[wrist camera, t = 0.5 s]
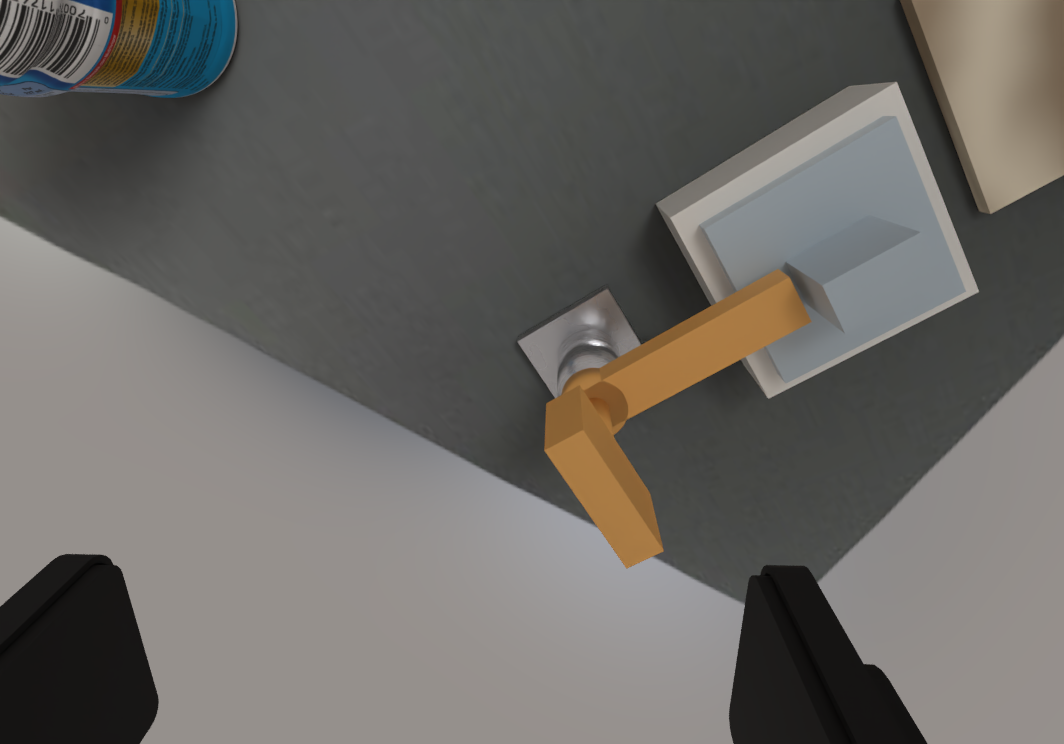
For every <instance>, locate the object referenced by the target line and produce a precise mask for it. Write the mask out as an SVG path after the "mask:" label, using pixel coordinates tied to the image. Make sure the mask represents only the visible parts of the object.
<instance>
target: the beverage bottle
mask: <svg viewBox="0 0 1064 744" xmlns="http://www.w3.org/2000/svg"><path fill="white" fill-rule="evenodd" d="M237 29H238V20H237V10H236V4H235V0H0V94H4V95H11V96H20V97H47V96H53V95H58V94H62V93H65V92H68V91H71V92H105V93H131V94H142V95H146V96H152V97H161V98H178V97H185V96H189V95H193V94H195V93H198V92H200V91H202V90H204V89H205V88H207V87H209V86H210V85H211V84H213V83H214V82H215V81H216V80H217V79H218V78H219V77H220V76H221V74H222V73H223V72H224V70H225V69H226V67H227V66H228V64H229V62H230V60H231V57H232V55H233V52H234V48H235V44H236V39H237Z"/></svg>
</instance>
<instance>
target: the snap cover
mask: <svg viewBox="0 0 1064 744" xmlns="http://www.w3.org/2000/svg"><path fill="white" fill-rule="evenodd" d="M699 226H700V228H701V230H702V232H703V233H704V235H705V237H706V239H707V241H708V243H709V245H710V247H711V249H712V250H713V252H714V254H715V256H716V258H717V260H718V262H719V264H720V266H721V267H722V269H723V271H724V273H725V275H726V277H727V279H728V281H729V283H730V284H731V286H732V288H733V290H734V292H737V291H739V290H741V289H743V288H744V287H746V286H748V285H750V284H752V283H753V282H755V281H757V280H759V279H761V278H762V277H764V276H766V275H768V274H770V273H771V272H773V271H775V270H777V269H779V270H780V271H782V272H783V273H785V274H786V275H787V276H789V277H790V279H791V281H792V283H793V285H794V287H795V289H796V291H797V293H798V295H799V297H800V299H801V301H802V303H803V305H804V307H805V309H806V311H807V313H808V315H809V317H810V319H811V323H809V324H807V325H805V326H803V327H801V328H799V329H797V330H795V331H793V332H792V333H790V334H788V335H786V336H784V337H782V338H780V339H778V340H776V341H775V342H773V343H771V344H769V345H767V346H765V347H764V349H765V351H766V353H767V354H768V356H769V358H770V360H771V362H772V364H773V366H774V368H775V370H776V371H777V373H778V375H779V376H780V377H781V379H782V380H783V381H784V382H785V383H788V382H790V381H792V380H794V379H796V378H798V377H800V376H802V375H804V374H806V373H808V372H810V371H812V370H814V369H816V368H817V367H819V366H821V365H823V364H825V363H827V362H829V361H831V360H833V359H835V358H837V357H839V356H841V355H843V354H845V353H847V352H849V351H851V350H853V349H855V348H857V347H859V346H861V345H863V344H864V343H866V342H868V341H870V340H872V339H874V338H876V337H878V336H880V335H882V334H884V333H886V332H888V331H890V330H892V329H894V328H896V327H898V326H900V325H902V324H904V323H906V322H908V321H910V320H911V319H913V318H915V317H917V316H919V315H921V314H923V313H925V312H927V311H929V310H931V309H933V308H935V307H937V306H939V305H941V304H943V303H945V302H947V301H949V300H951V299H953V298H955V297H957V296H959V295H960V294H962V293H964V292H966V290H965V287H964V285H963V282H962V280H961V277H960V275H959V272H958V270H957V267H956V265H955V262H954V260H953V257H952V255H951V252H950V250H949V247H948V245H947V242H946V240H945V237H944V235H943V232H942V230H941V227H940V225H939V222H938V220H937V217H936V215H935V212H934V210H933V207H932V205H931V202H930V200H929V197H928V195H927V192H926V190H925V187H924V185H923V182H922V180H921V177H920V175H919V172H918V170H917V167H916V165H915V162H914V160H913V157H912V155H911V152H910V150H909V147H908V145H907V142H906V140H905V137H904V135H903V132H902V130H901V127H900V125H899V122H898V120H897V117H896V116H882V117H880V118H879V119H877V120H875V121H874V122H872V123H870V124H868V125H867V126H865V127H863V128H862V129H860V130H858V131H857V132H855V133H853V134H852V135H850V136H848V137H846V138H845V139H843V140H841V141H840V142H838V143H836V144H835V145H833V146H831V147H830V148H828V149H826V150H824V151H823V152H821V153H819V154H818V155H816V156H814V157H813V158H811V159H809V160H808V161H806V162H804V163H802V164H801V165H799V166H797V167H796V168H794V169H792V170H791V171H789V172H787V173H786V174H784V175H782V176H780V177H779V178H777V179H775V180H774V181H772V182H770V183H769V184H767V185H765V186H764V187H762V188H760V189H758V190H757V191H755V192H753V193H752V194H750V195H748V196H747V197H745V198H743V199H742V200H740V201H738V202H736V203H735V204H733V205H731V206H730V207H728V208H726V209H725V210H723V211H721V212H720V213H718V214H716V215H714V216H713V217H711V218H709V219H708V220H706V221H704V222H703V223H701V224H699Z"/></svg>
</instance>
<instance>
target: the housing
mask: <svg viewBox="0 0 1064 744" xmlns="http://www.w3.org/2000/svg"><path fill="white" fill-rule="evenodd" d="M882 116H896V117H897V120H898V122H899V125H900V127H901V130H902V132H903V135H904V137H905V140H906V142H907V145H908V147H909V150H910V152H911V155H912V157H913V160H914V162H915V165H916V167H917V170H918V172H919V175H920V177H921V180H922V182H923V185H924V187H925V190H926V192H927V195H928V197H929V200H930V202H931V205H932V207H933V210H934V212H935V215H936V217H937V220H938V222H939V225H940V227H941V230H942V232H943V235H944V237H945V240H946V242H947V245H948V247H949V250H950V252H951V255H952V257H953V260H954V262H955V265H956V267H957V270H958V272H959V275H960V277H961V280H962V282H963V285H964V287H965V290H966V292H964V293H962V294H960V295H959V296H957V297H955V298H953V299H951V300H949V301H947V302H945V303H943V304H941V305H939V306H937V307H935V308H933V309H931V310H929V311H927V312H925V313H923V314H921V315H919V316H917V317H915V318H913V319H911V320H910V321H908V322H906V323H904V324H902V325H900V326H898V327H896V328H894V329H892V330H890V331H888V332H886V333H884V334H882V335H880V336H878V337H876V338H874V339H872V340H870V341H868V342H866V343H864V344H863V345H861V346H859V347H857V348H855V349H853V350H851V351H849V352H847V353H845V354H843V355H841V356H839V357H837V358H835V359H833V360H831V361H829V362H827V363H825V364H823V365H821V366H819V367H817V368H816V369H814V370H812V371H810V372H808V373H806V374H804V375H802V376H800V377H798V378H796V379H794V380H792V381H790V382H788V383H785V382H784V381H783V380H782V379H781V377H780V376H779V375H778V373H777V371H776V370H775V368H774V366H773V364H772V362H771V360H770V358H769V356H768V354H767V353H766V351H765V349H764V347H763V348H761V349H759V350H758V351H756V352H754V353H752V354H750V355H748V356H746V357H744V358H742V359H741V361H742V363H743V365H744V366H745V368H746V369H747V370H748V372H749V373H750V374H751V376H752V377H753V379H754V380H755V381H756V383H757V384H758V385H759V387H760V388H761V389H762V391H763V392H764V394H765V395H766V396H767V398H768V399H769V398H771V397H773V396H775V395H777V394H779V393H781V392H783V391H785V390H787V389H789V388H791V387H793V386H795V385H797V384H799V383H800V382H802V381H804V380H806V379H808V378H810V377H812V376H814V375H816V374H818V373H820V372H822V371H824V370H826V369H828V368H830V367H832V366H834V365H836V364H838V363H840V362H842V361H844V360H846V359H848V358H850V357H852V356H854V355H856V354H858V353H860V352H861V351H863V350H865V349H867V348H869V347H871V346H873V345H875V344H877V343H879V342H881V341H883V340H885V339H887V338H889V337H891V336H893V335H895V334H897V333H899V332H901V331H903V330H905V329H907V328H909V327H911V326H913V325H915V324H917V323H919V322H921V321H922V320H924V319H926V318H928V317H930V316H932V315H934V314H936V313H938V312H940V311H942V310H944V309H946V308H948V307H950V306H952V305H954V304H956V303H958V302H960V301H962V300H964V299H966V298H968V297H970V296H972V295H974V294H976V293H978V292H979V290H978V288H977V285H976V283H975V280H974V278H973V275H972V272H971V270H970V267H969V265H968V262H967V260H966V257H965V255H964V252H963V249H962V247H961V244H960V242H959V239H958V237H957V234H956V232H955V229H954V227H953V224H952V221H951V219H950V216H949V214H948V211H947V209H946V206H945V204H944V201H943V198H942V196H941V193H940V191H939V188H938V186H937V183H936V181H935V178H934V175H933V173H932V170H931V168H930V165H929V163H928V160H927V158H926V155H925V153H924V150H923V147H922V145H921V142H920V140H919V137H918V135H917V132H916V130H915V127H914V124H913V122H912V119H911V117H910V114H909V112H908V109H907V107H906V104H905V101H904V99H903V96H902V94H901V91H900V89H899V86H898V84H897V82H889V83H877V84H866V85H855V86H848V87H846V88H845V89H843V90H841V91H840V92H838V93H836V94H835V95H833V96H832V97H830V98H828V99H827V100H825V101H823V102H822V103H820V104H818V105H817V106H815V107H813V108H812V109H810V110H809V111H807V112H805V113H804V114H802V115H800V116H799V117H797V118H795V119H794V120H792V121H790V122H789V123H787V124H786V125H784V126H782V127H781V128H779V129H777V130H776V131H774V132H772V133H771V134H769V135H768V136H766V137H764V138H763V139H761V140H759V141H758V142H756V143H754V144H753V145H751V146H749V147H748V148H746V149H745V150H743V151H741V152H740V153H738V154H736V155H735V156H733V157H731V158H730V159H728V160H727V161H725V162H723V163H722V164H720V165H718V166H717V167H715V168H713V169H712V170H710V171H708V172H707V173H705V174H704V175H702V176H700V177H699V178H697V179H695V180H694V181H692V182H690V183H689V184H687V185H685V186H684V187H682V188H681V189H679V190H677V191H676V192H674V193H672V194H671V195H669V196H667V197H666V198H664V199H663V200H661V201H659V202H658V203H656V206H657V208H658V210H659V211H660V213H661V215H662V217H663V219H664V221H665V222H666V224H667V226H668V228H669V230H670V232H671V233H672V235H673V237H674V239H675V241H676V242H677V244H678V246H679V248H680V250H681V252H682V253H683V255H684V257H685V259H686V261H687V263H688V264H689V266H690V268H691V270H692V272H693V274H694V275H695V277H696V279H697V281H698V283H699V285H700V286H701V288H702V290H703V292H704V294H705V296H706V297H707V299H708V301H709V303H710V305H711V306H712V305H714V304H716V303H717V302H719V301H721V300H723V299H725V298H726V297H728V296H730V295H732V294H734V293H735V292H734V290H733V288H732V286H731V284H730V283H729V281H728V279H727V277H726V275H725V273H724V271H723V269H722V267H721V266H720V264H719V262H718V260H717V258H716V256H715V254H714V252H713V250H712V249H711V247H710V245H709V243H708V241H707V239H706V237H705V235H704V233H703V232H702V230H701V228H700V226H699V224H701V223H703V222H704V221H706V220H708V219H709V218H711V217H713V216H714V215H716V214H718V213H720V212H721V211H723V210H725V209H726V208H728V207H730V206H731V205H733V204H735V203H736V202H738V201H740V200H742V199H743V198H745V197H747V196H748V195H750V194H752V193H753V192H755V191H757V190H758V189H760V188H762V187H764V186H765V185H767V184H769V183H770V182H772V181H774V180H775V179H777V178H779V177H780V176H782V175H784V174H786V173H787V172H789V171H791V170H792V169H794V168H796V167H797V166H799V165H801V164H802V163H804V162H806V161H808V160H809V159H811V158H813V157H814V156H816V155H818V154H819V153H821V152H823V151H824V150H826V149H828V148H830V147H831V146H833V145H835V144H836V143H838V142H840V141H841V140H843V139H845V138H846V137H848V136H850V135H852V134H853V133H855V132H857V131H858V130H860V129H862V128H863V127H865V126H867V125H868V124H870V123H872V122H874V121H875V120H877V119H879V118H880V117H882Z"/></svg>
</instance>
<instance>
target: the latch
mask: <svg viewBox="0 0 1064 744" xmlns="http://www.w3.org/2000/svg"><path fill="white" fill-rule="evenodd" d="M809 323H811V319H810V317H809V315H808V313H807V311H806V309H805V307H804V305H803V303H802V301H801V299H800V297H799V295H798V293H797V291H796V289H795V287H794V285H793V283H792V281H791V279H790V277H789V276H787V275H786V274H785V273H783V272H782V271H780V270H779V269H777V270H775V271H773V272H771V273H770V274H768V275H766V276H764V277H762V278H761V279H759V280H757V281H755V282H753V283H752V284H750V285H748V286H746V287H744V288H743V289H741V290H739V291H737V292H735V293H734V294H732V295H730V296H728V297H726V298H725V299H723V300H721V301H719V302H717V303H716V304H714V305H712V306H710V307H708V308H707V309H705V310H703V311H701V312H699V313H698V314H696V315H694V316H692V317H690V318H689V319H687V320H685V321H683V322H681V323H680V324H678V325H676V326H674V327H672V328H671V329H669V330H667V331H665V332H663V333H662V334H660V335H658V336H656V337H654V338H653V339H651V340H649V341H647V342H645V343H644V344H642V345H640V346H638V347H636V348H635V349H633V350H631V351H629V352H627V353H626V354H624V355H622V356H620V357H618V358H617V359H615V360H613V361H611V362H609V363H608V364H606V365H604V366H602V367H600V368H586V369H583V370H580V371H578V372H576V373H574V374H573V375H572V376H571V377H570V378H569V379H568V380H567V381H566V383H565V385H564V386H563V389H562V394H561V396H559V397H557V398H555V399H553V400H552V401H550V402H548V403H546V424H545V448H544V451H545V452H546V454H547V455H548V456H549V458H550V459H551V461H552V462H553V464H554V465H555V466H556V468H557V469H558V471H559V472H560V474H561V475H562V477H563V478H564V479H565V481H566V482H567V484H568V485H569V487H570V488H571V489H572V491H573V492H574V494H575V495H576V497H577V498H578V499H579V501H580V502H581V504H582V505H583V507H584V508H585V509H586V511H587V512H588V514H589V515H590V517H591V518H592V520H593V521H594V522H595V524H596V525H597V527H598V528H599V530H600V531H601V532H602V534H603V535H604V537H605V538H606V540H607V541H608V542H609V544H610V545H611V547H612V548H613V550H614V551H615V552H616V554H617V555H618V557H619V558H620V560H621V561H622V563H623V564H624V565H625V567H626V568H629V567H631V566H633V565H635V564H637V563H640V562H641V561H644V560H646V559H648V558H650V557H652V556H654V555H657V554H659V553H661V552H663V551H664V550H663V546H662V541H661V537H660V533H659V529H658V525H657V521H656V516H655V512H654V508H653V504H652V500H651V496H650V492H649V491H648V489H647V488H646V486H645V485H644V483H643V482H642V480H641V479H640V477H639V476H638V474H637V472H636V471H635V469H634V468H633V466H632V465H631V463H630V462H629V460H628V459H627V457H626V456H625V454H624V452H623V451H622V449H621V448H620V446H619V445H618V443H617V442H616V440H615V439H614V434H616V433H617V432H618V431H619V430H620V429H621V428H622V427H623V425H624V424H625V422H626V420H627V419H629V418H631V417H633V416H635V415H637V414H638V413H640V412H642V411H644V410H646V409H648V408H650V407H652V406H654V405H655V404H657V403H659V402H661V401H663V400H665V399H667V398H669V397H671V396H672V395H674V394H676V393H678V392H680V391H682V390H684V389H686V388H688V387H690V386H691V385H693V384H695V383H697V382H699V381H701V380H703V379H705V378H707V377H708V376H710V375H712V374H714V373H716V372H718V371H720V370H722V369H724V368H725V367H727V366H729V365H731V364H733V363H735V362H737V361H739V360H741V359H742V358H744V357H746V356H748V355H750V354H752V353H754V352H756V351H758V350H759V349H761V348H763V347H765V346H767V345H769V344H771V343H773V342H775V341H776V340H778V339H780V338H782V337H784V336H786V335H788V334H790V333H792V332H793V331H795V330H797V329H799V328H801V327H803V326H805V325H807V324H809Z"/></svg>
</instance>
